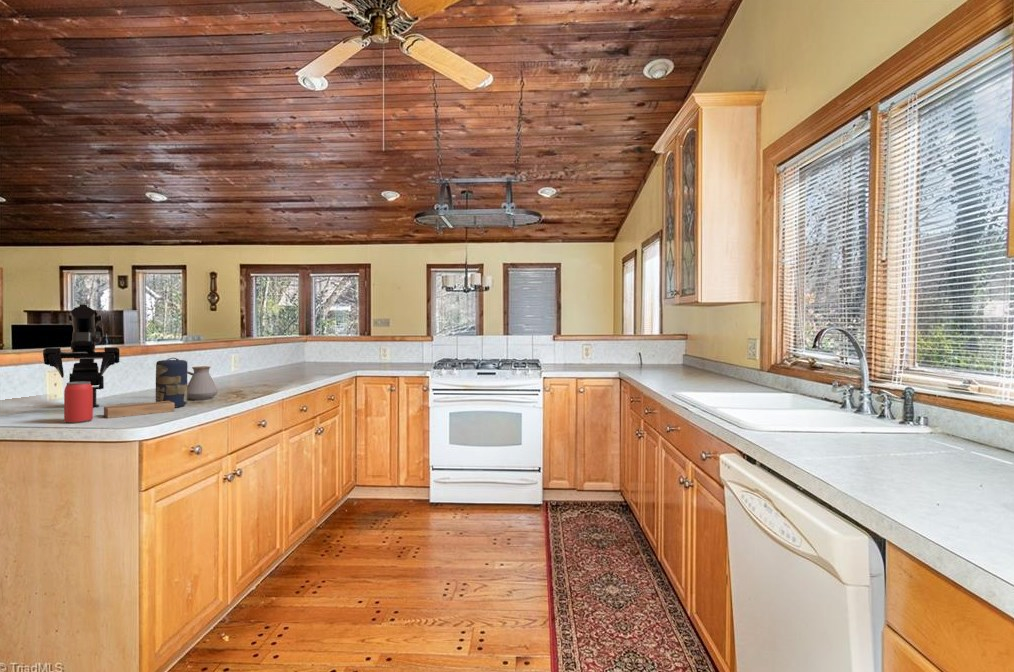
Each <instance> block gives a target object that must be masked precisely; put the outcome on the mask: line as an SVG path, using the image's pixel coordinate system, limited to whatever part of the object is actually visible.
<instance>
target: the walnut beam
mask: <svg viewBox="0 0 1014 672" xmlns="http://www.w3.org/2000/svg"><path fill="white" fill-rule="evenodd" d="M175 408H176V407H175V403H174V402H171V401H161V402H156V401H153V402H143V403H127V404H119V405H118V404H117V405H108V406H106V405H105V406H103V416H104V417H105V416H106V417H105V418H107V417H108V418H107V419H111V418H110V417H116V418H122V417H121V416H126V417H132V416H131V415H135V416H142V415H141V414H145V415H150V414H149V413H155V414H161V413H162V412H164V413H171V412H172V411H174V412H175ZM172 413H173V412H172Z"/></svg>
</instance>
